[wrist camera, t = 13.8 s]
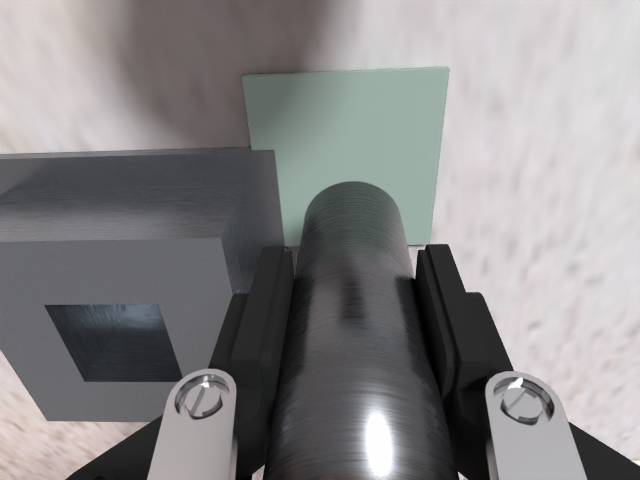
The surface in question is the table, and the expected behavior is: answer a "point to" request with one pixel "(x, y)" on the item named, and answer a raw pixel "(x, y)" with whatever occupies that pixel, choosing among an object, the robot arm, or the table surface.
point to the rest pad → (351, 137)
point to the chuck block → (126, 269)
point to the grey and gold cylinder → (357, 353)
